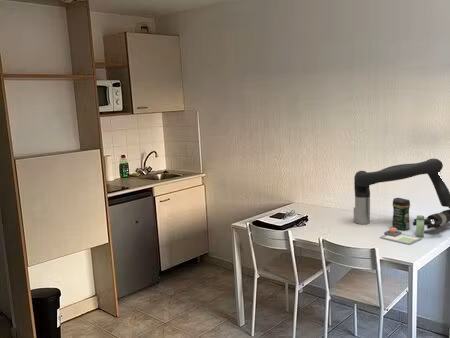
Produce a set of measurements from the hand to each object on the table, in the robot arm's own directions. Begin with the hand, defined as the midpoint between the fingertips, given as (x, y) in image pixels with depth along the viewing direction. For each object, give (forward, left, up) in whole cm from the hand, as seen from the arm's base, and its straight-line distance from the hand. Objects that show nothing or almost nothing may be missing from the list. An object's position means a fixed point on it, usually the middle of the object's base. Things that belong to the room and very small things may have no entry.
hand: (420, 225), depth 251 cm
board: (-6, -11, -7) cm, 14 cm away
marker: (0, -1, -7) cm, 7 cm away
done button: (-12, -9, -5) cm, 15 cm away
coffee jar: (-16, +7, -7) cm, 19 cm away
